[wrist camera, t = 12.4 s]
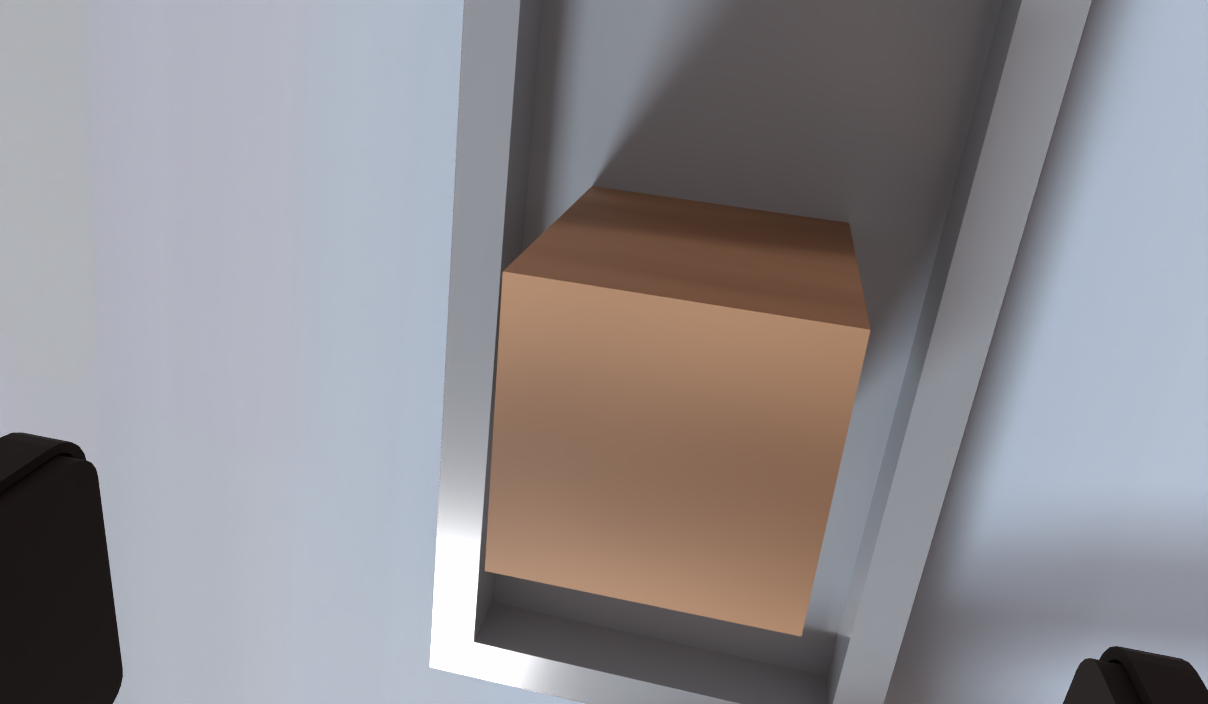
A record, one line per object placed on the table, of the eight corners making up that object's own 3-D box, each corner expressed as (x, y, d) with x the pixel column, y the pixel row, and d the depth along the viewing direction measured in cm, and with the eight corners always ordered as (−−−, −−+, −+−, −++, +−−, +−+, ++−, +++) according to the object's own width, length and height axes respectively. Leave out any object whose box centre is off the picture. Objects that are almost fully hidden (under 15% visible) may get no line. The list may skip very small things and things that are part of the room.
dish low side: (518, -196, 17) (476, -224, 15) (1089, -139, 16) (1139, -161, 13) (465, 602, 24) (429, 667, 22) (857, 690, 23) (864, 769, 20)
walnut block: (591, 186, 18) (502, 271, 13) (849, 222, 18) (871, 329, 12) (570, 412, 20) (484, 571, 15) (801, 453, 20) (801, 637, 14)
